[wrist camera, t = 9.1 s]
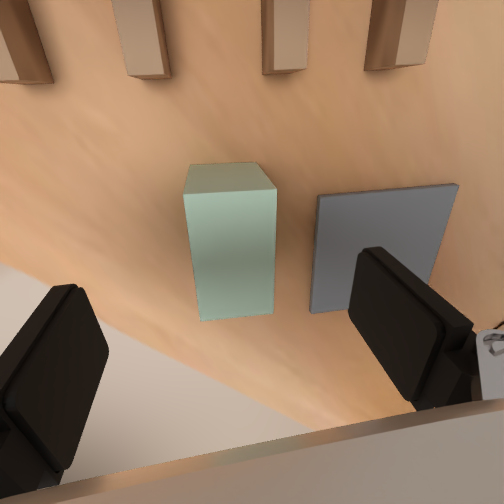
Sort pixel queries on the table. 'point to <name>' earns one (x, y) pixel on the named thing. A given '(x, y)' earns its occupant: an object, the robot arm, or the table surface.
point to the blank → (231, 238)
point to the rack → (273, 38)
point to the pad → (375, 235)
